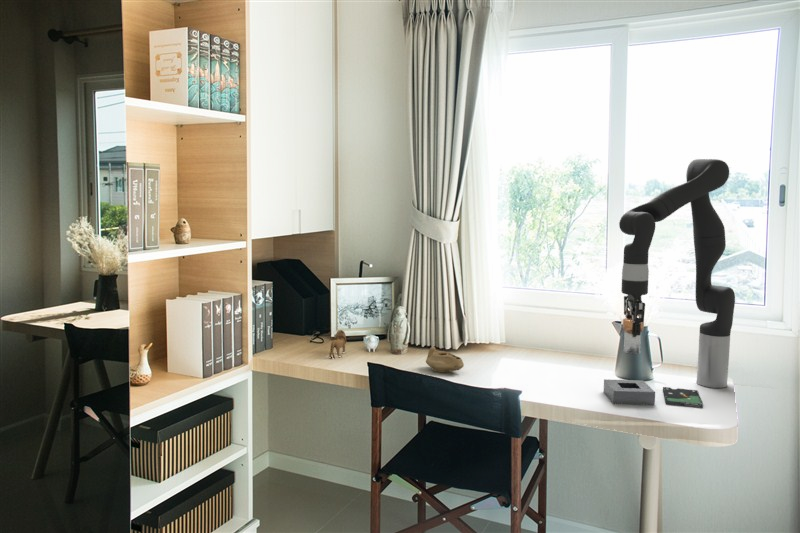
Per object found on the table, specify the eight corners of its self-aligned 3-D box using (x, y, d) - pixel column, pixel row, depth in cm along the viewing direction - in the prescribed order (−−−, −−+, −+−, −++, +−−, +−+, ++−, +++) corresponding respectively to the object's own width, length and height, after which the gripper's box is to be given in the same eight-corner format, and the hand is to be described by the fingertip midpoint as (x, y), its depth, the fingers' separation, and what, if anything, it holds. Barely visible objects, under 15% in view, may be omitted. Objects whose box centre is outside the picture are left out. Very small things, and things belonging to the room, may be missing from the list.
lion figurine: (334, 350, 259) (334, 328, 258) (347, 351, 258) (347, 329, 257) (327, 360, 244) (327, 336, 243) (341, 360, 244) (341, 337, 243)
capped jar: (619, 349, 201) (620, 317, 199) (639, 349, 200) (640, 318, 199) (624, 354, 195) (626, 321, 193) (644, 354, 194) (646, 322, 193)
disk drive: (661, 395, 206) (665, 409, 192) (662, 386, 205) (665, 400, 191) (697, 398, 203) (703, 413, 189) (697, 389, 202) (704, 403, 188)
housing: (603, 394, 204) (604, 379, 203) (642, 395, 203) (643, 380, 202) (613, 407, 192) (613, 390, 191) (654, 408, 191) (655, 392, 190)
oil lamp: (458, 377, 222) (458, 355, 221) (419, 371, 229) (419, 349, 228) (470, 370, 231) (471, 348, 230) (433, 364, 238) (433, 343, 238)
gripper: (655, 281, 187) (653, 338, 189) (640, 275, 202) (638, 327, 204) (629, 281, 188) (627, 338, 190) (616, 275, 202) (614, 327, 204)
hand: (632, 332), depth 197 cm, fingers closed on capped jar, 6 cm apart
